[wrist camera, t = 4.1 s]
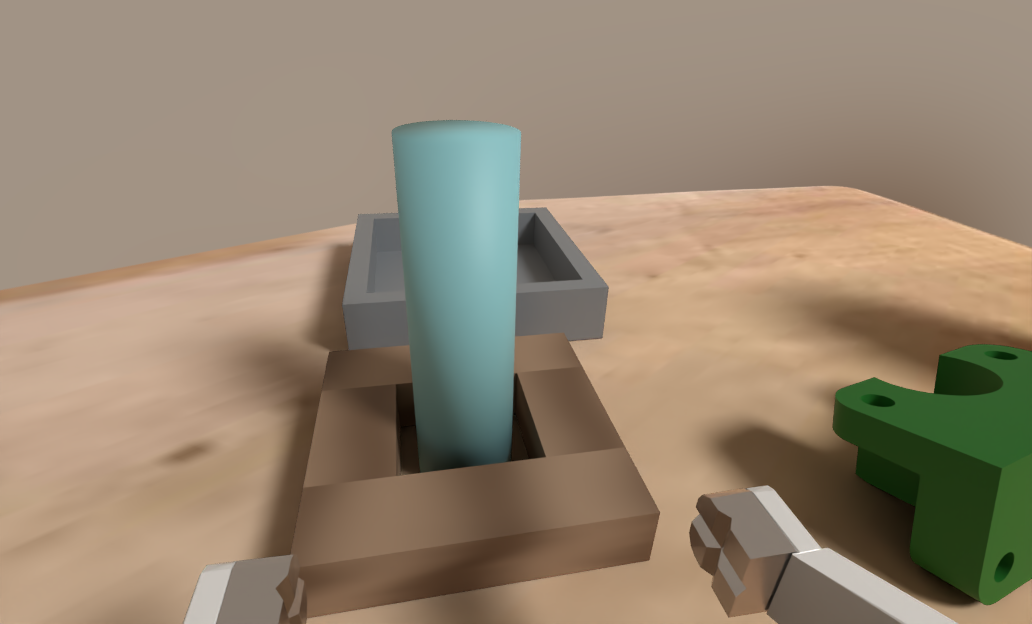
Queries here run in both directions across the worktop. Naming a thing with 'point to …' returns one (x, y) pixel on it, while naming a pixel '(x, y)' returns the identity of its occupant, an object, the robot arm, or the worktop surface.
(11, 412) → the worktop surface
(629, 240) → the worktop surface
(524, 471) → the socket block
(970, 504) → the clamp
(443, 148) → the dowel
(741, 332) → the worktop surface
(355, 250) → the tray
